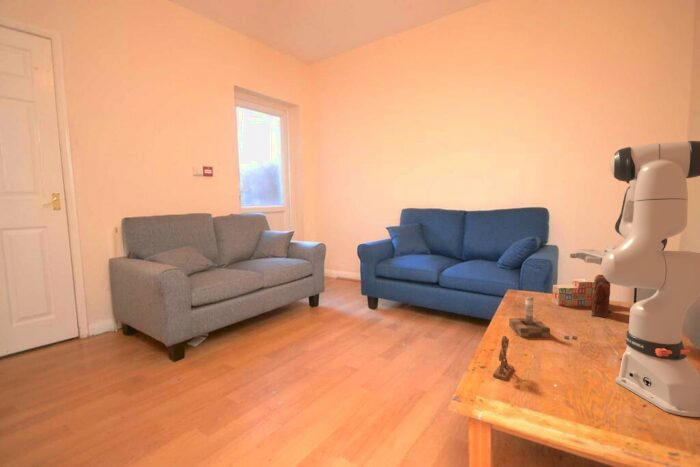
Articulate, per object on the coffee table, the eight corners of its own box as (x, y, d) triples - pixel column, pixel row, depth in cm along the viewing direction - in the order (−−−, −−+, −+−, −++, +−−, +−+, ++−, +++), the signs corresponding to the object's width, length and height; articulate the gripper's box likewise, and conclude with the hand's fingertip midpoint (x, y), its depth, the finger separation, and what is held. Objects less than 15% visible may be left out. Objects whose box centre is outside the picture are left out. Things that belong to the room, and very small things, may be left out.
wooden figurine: (591, 308, 159) (593, 271, 157) (608, 311, 155) (610, 273, 154) (591, 316, 150) (593, 277, 148) (609, 318, 146) (611, 278, 144)
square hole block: (549, 336, 130) (550, 328, 129) (520, 337, 130) (520, 328, 130) (535, 326, 140) (536, 318, 140) (509, 326, 141) (509, 318, 141)
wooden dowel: (533, 332, 134) (534, 298, 133) (526, 332, 134) (527, 298, 133) (530, 330, 137) (531, 296, 135) (523, 330, 137) (524, 296, 135)
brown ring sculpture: (505, 380, 100) (506, 342, 99) (492, 376, 103) (493, 339, 101) (513, 368, 107) (514, 333, 106) (501, 365, 109) (501, 330, 108)
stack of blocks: (558, 306, 165) (559, 282, 163) (551, 302, 171) (552, 278, 169) (604, 306, 162) (605, 281, 161) (596, 302, 169) (597, 278, 167)
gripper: (597, 245, 140) (562, 246, 141) (635, 253, 120) (595, 254, 121) (596, 260, 141) (562, 260, 142) (634, 270, 121) (594, 271, 121)
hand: (577, 257), depth 131 cm, fingers open, 8 cm apart
